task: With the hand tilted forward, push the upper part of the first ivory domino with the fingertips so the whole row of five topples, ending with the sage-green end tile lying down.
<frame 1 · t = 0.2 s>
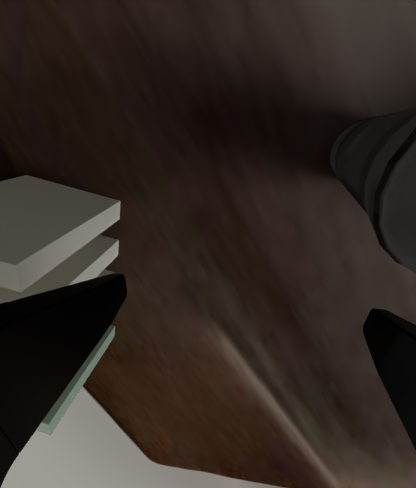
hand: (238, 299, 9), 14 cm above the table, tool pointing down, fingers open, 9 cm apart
domino 2: (75, 235, 27), on the table
beverage cup: (360, 152, 19), on the table
domino 1: (73, 197, 25), on the table
domino 5: (80, 320, 33), on the table
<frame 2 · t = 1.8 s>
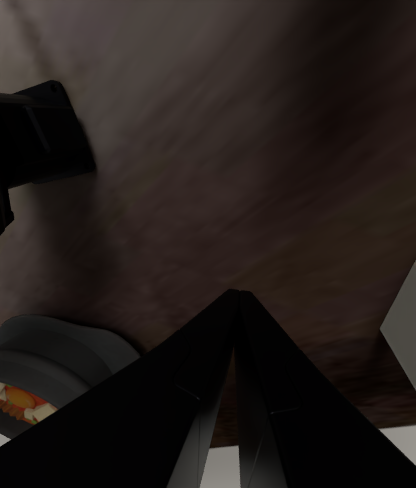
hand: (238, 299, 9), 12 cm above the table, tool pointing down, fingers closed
casserole: (74, 353, 34), on the table
domino 1: (414, 288, 21), on the table
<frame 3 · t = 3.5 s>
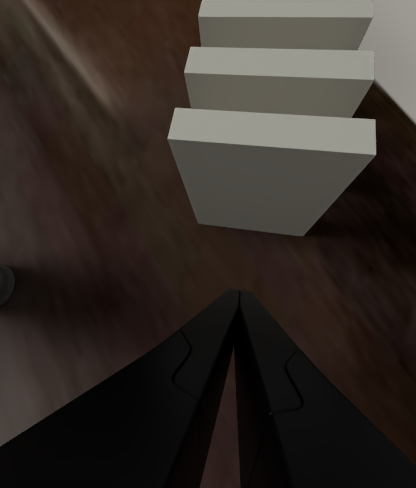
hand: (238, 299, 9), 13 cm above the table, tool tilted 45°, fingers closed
domino 2: (255, 179, 25), on the table
domino 1: (250, 220, 24), on the table
domino 3: (260, 142, 26), on the table
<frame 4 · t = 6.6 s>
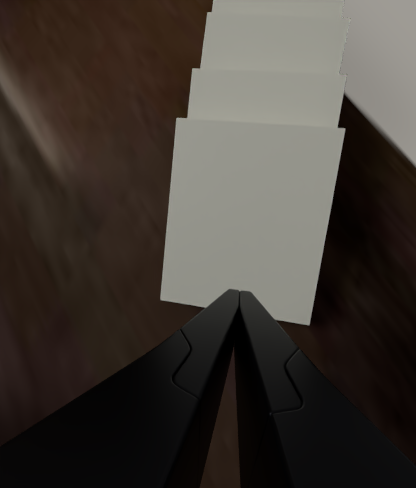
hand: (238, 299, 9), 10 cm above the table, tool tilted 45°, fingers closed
domino 2: (241, 248, 19), point 1 cm above the table, tilted 66°, touching domino 3
domino 4: (256, 133, 21), point 1 cm above the table, tilted 66°, touching domino 3, domino 5
domino 1: (232, 306, 17), point 1 cm above the table, tilted 66°
domino 3: (247, 187, 20), point 1 cm above the table, tilted 65°, touching domino 2, domino 4
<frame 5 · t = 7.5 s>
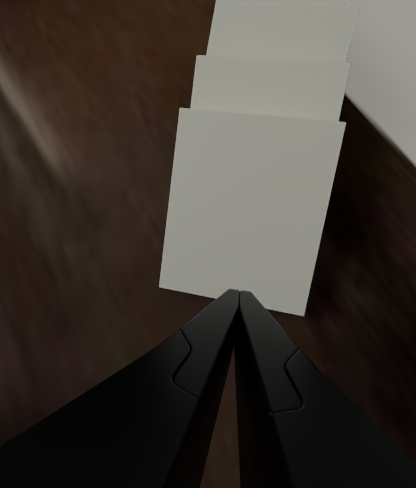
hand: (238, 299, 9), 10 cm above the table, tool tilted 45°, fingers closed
domino 2: (241, 236, 19), point 1 cm above the table, tilted 65°, touching domino 1, domino 3
domino 4: (258, 118, 21), point 2 cm above the table, tilted 69°, touching domino 3, domino 5
domino 1: (229, 296, 17), point 1 cm above the table, tilted 65°, touching domino 2
domino 3: (247, 177, 20), point 1 cm above the table, tilted 65°, touching domino 2, domino 4
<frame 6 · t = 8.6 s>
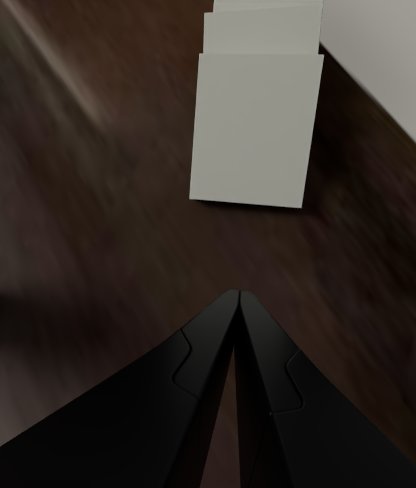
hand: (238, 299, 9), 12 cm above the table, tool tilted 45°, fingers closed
domino 2: (252, 156, 24), point 1 cm above the table, tilted 64°, touching domino 1
domino 1: (243, 203, 23), point 1 cm above the table, tilted 64°, touching domino 2
domino 3: (254, 111, 26), point 1 cm above the table, tilted 60°, touching domino 4
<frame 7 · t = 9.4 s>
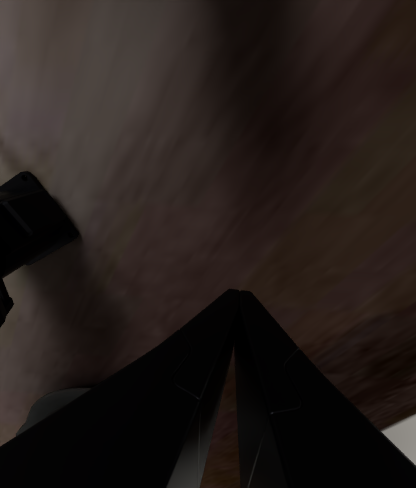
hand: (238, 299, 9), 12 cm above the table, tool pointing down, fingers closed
casserole: (107, 419, 33), on the table
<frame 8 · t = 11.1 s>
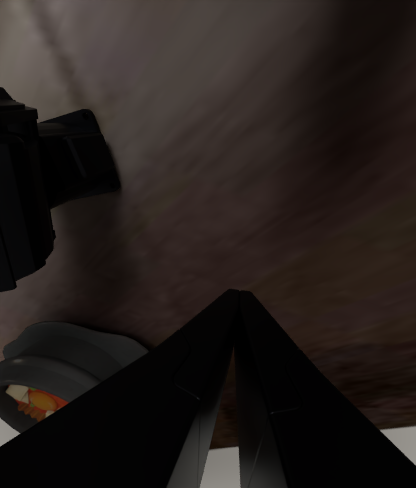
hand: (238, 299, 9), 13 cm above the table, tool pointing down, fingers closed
casserole: (90, 357, 35), on the table
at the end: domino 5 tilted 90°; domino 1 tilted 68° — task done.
